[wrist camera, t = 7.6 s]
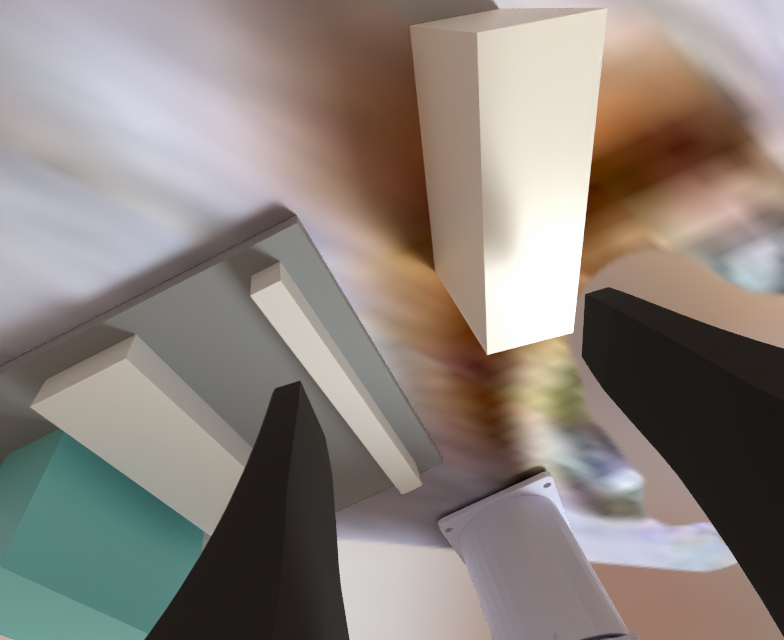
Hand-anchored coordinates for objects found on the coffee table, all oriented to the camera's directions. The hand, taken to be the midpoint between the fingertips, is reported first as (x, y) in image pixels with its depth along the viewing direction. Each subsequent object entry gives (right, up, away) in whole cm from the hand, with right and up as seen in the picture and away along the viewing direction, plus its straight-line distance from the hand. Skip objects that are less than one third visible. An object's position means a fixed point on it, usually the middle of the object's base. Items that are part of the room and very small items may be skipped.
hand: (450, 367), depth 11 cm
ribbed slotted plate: (-10, -5, +11) cm, 16 cm away
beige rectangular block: (+1, +7, +6) cm, 10 cm away
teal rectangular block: (-14, -7, +10) cm, 19 cm away
